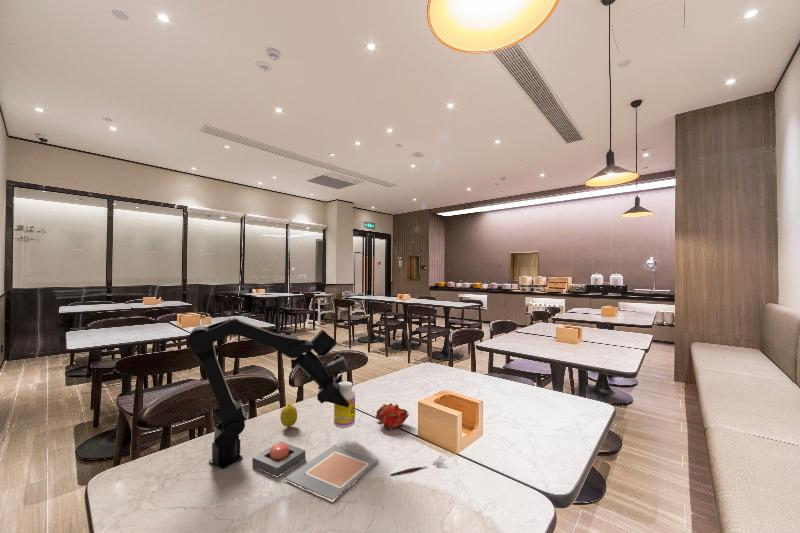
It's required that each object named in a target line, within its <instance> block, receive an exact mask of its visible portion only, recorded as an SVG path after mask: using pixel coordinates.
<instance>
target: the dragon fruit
mask: <svg viewBox="0 0 800 533" xmlns="http://www.w3.org/2000/svg"><path fill="white" fill-rule="evenodd" d="M409 416H410V413H408V410H407V409H404V408H400V406H399V404H393V403H389V404H385V403H383V404H382V406H380V407H379V408H378V409H377V410H376V415H375V417H376V419H377V421H376V423H377V424H378V425H383V427H384V428H387V429H389V430H392V429H393V428H398V429H399V428H401V427H403V426H404V425H403V424H404V423H405V421H406V420H407V419H408V417H409Z"/></svg>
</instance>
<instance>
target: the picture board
mask: <svg viewBox="0 0 800 533" xmlns="http://www.w3.org/2000/svg"><path fill="white" fill-rule="evenodd" d="M378 463H379V460H378V459H377V458H373V457H371V456H367V455H365V454H362V453H359V452H356V451H354V450H350V449H348V448H344V447H342V446H338V445H337V444H334V445H332V446H330V447H329V448H328V449H326V450H325V451H323V452H322V453H320V454H319V455H318V456H316V457H314V458H313V459H311V460H310V461H309V462H307V463H305V464H304V465H302V466H301V467H300V468H298V469H297V470H295V471H293V472H292V473H291V474H289V475H288V476H286V477H285V478H284V481H285V480H287V481H289V482H292V483H294V484H296V485H298V486H301V487H302V488H304V489H307V490H310V491H312V492H315V493H317V494H319V495H321V496H324V497H326V498H329V499H331V500H333V499H334V498H336V497H337V496H339V495H340V494H341V493H343V492H344V491H345V490H346V489H347V488H348V487H349V486H350V485H352V484H353V483H354V482H355V481H356V480H358V479H359V478H360V477H361V476H362V477H363V475H364V474H365V475H366V474H367V473H368V472H369V471H370V470H371V469H373V467H375V466H376V465H377V464H378ZM365 475H364V476H365ZM362 477H361V478H362ZM361 478H360V479H361ZM360 479H359V480H360ZM359 480H358V481H359ZM353 485H354V484H353ZM353 485H352V486H353ZM344 493H345V492H344ZM344 493H343V494H344Z"/></svg>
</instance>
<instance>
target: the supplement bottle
mask: <svg viewBox="0 0 800 533" xmlns="http://www.w3.org/2000/svg"><path fill="white" fill-rule="evenodd" d="M338 385H340V392H341V394H342V395H343V396H344V398H345V399H346V400H347V402H348V403H349V406H348V407H344V406H341V405H337V404H334V403H333V425H334V426H335V427H336V428H339V429H348V428H351V427H353V426H354V425H355V423H356V392H355V391H354V390H353V383H352V382H351V381H346V380H345V381H342V382H340V383H338Z"/></svg>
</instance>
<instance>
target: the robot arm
mask: <svg viewBox="0 0 800 533" xmlns="http://www.w3.org/2000/svg"><path fill="white" fill-rule="evenodd" d="M232 334H234V335H238V336H239V337H243V338H246V339H248V340H252V341H254V342H257V343H260V344H262V345H266V346H269V347H271V348H273V349H275V350H276V351H278V352H279V353H280V354H282V355H284V356H286V357H287V358H290V362H291V366H290V368H291V369H293V370H294V369H295V368H296V367H297V366H298V367H299V368H300V369H301V370H302V371H303V372H304V373H306V375H307V376H308V380H309V381H314V383H315V384H316V385H318V387H317V388H318V393H317V395H316V396H317V398H316V400H317V401H318V402H319V403H320V404H324V403H331V404H333V405H334V404H337V405H341V406H344V407H348V406H349V403H348V402H347V400H346V399H345V398H344V396H343V395H342V394H341V392H340V385H338V383H340V382H343V373H342V372H343V371H346V370H348V366H349V364H348V362H347V361H346V360H347V359H346V358H345V356H344V355H343V356H342V355H340V354H336V355H335V356H334V357H333V360H332V361H331V362H329V363H328V362H327V361H322V360H321V359H320V358H319V357H321V356H322V357H325V356H327V355H328V354H329V353H330V351H332V350H333V349H334V348H335V347H336V346H337V345H338V342H337V341H336V340H335V339H334V337H332V336H331V335H329V334H328V333H327V332H326V331H325V330H324V329H320V330H319V331H318V333H317V334H316V336H314V337H313V338H312V339H311V340H309V339H308V340H307V339H300V338H298V337H297V336H294V335H291V334H290V335H289V334H285V333H283V334H282V333H275V332H273V331H269V330H267V329H264V328H261V327H259V326H257V325H254V324H250V323H248V322H245V321H242V320H240V319H238V318H237V317H230V318H228V319H226V320H223V321H220V322H217V323H213V324H210V325H208V326H205V325H200V326H196V327H194V328H193V329H192V330H191V331H190V333H189V335H188V337H187V345H188V347H189V348H190V350H191V351H192V353H193V355H194V356H195V357H196V358H197V360H198V361H200V364H201V365H202V368H203V370H204V372H205V376H206V377H207V381H208V382H209V386H210V388H211V390H212V393H213V395H214V399H215V400H216V403H217V405H218V408H219V417H220V421H219V423H218V424H217V425H215V427H214V433H213V435H214V436H213V441H212V442H211V459H209V460H208V464H211V465H213V466H214V467H217V468H219V469H221V470H223V469H225V468H227V467H229V466H230V465H232V464H234V463H236V462H238V461H241V459H243V455H241V439H240V434H241V433H242V432H244V430H245V428H246V421H247V413H246V412H247V411H246V410H245V409H244V408H243V404H242V400H241V399H240V400H238V401H236V400H235V399H234V398H233V396H232V393H231V390H230V387H229V385H228V383H227V381H226V377H225V375H224V372H223V370H222V368H221V365H220V362H219V359H218V357H217V354H216V347H215V342H217V341H219V340H222V339H223V338H225V337H228V336H230V335H232ZM312 350H313V351H314V352H313V351H312ZM315 353H316V354H317V355H318V356H319V357H318V356H317V355H316V354H315Z"/></svg>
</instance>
